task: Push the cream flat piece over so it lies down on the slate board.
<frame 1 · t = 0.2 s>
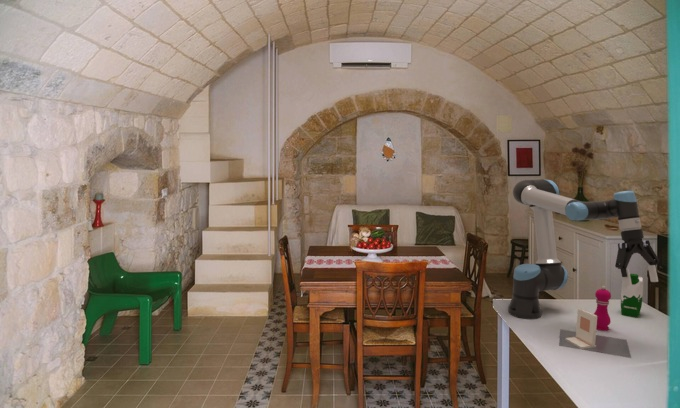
hand: (641, 283, 188), 27 cm above the table, tool tilted 15°, fingers open, 13 cm apart
milk carton: (630, 314, 233), on the table
cream flat piece: (586, 326, 195), point 8 cm above the table, hinge at 0.0°
pepper mill: (600, 330, 213), on the table
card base: (586, 342, 196), resting on slate board
slate board: (593, 344, 197), on the table
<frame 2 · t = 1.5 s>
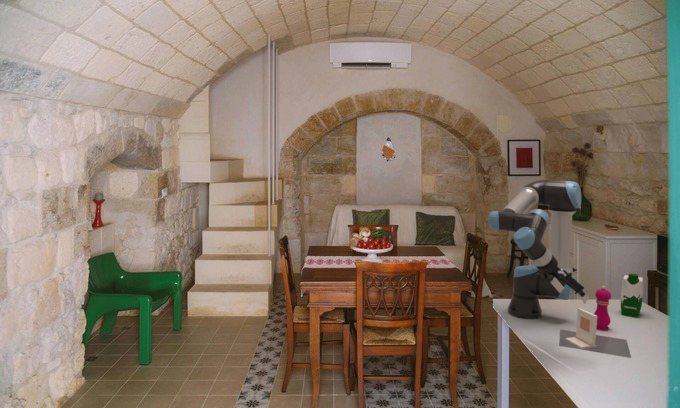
hand: (573, 295, 192), 22 cm above the table, tool tilted 45°, fingers open, 13 cm apart
nothing on the table moved.
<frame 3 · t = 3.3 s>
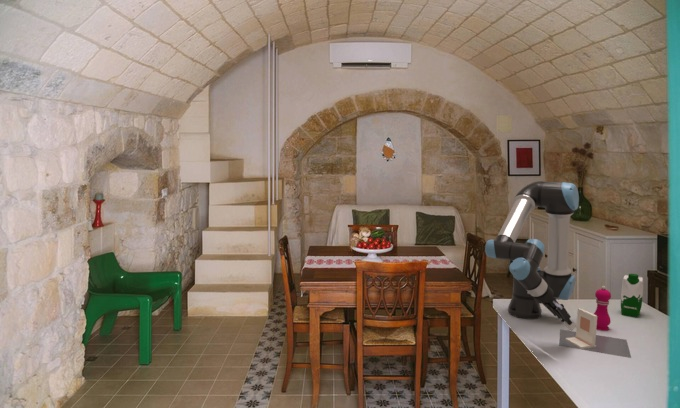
hand: (572, 327, 193), 8 cm above the table, tool tilted 45°, fingers closed
nothing on the table moved.
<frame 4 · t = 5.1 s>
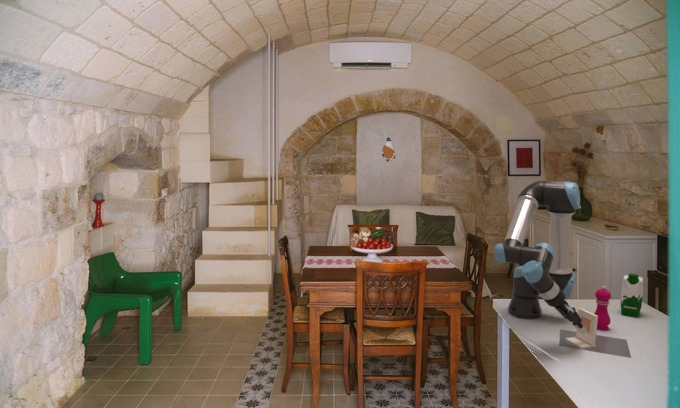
hand: (583, 331, 194), 7 cm above the table, tool tilted 45°, fingers closed
cream flat piece: (586, 326, 195), point 8 cm above the table, hinge at 1.7°, touching gripper
everything else where it was.
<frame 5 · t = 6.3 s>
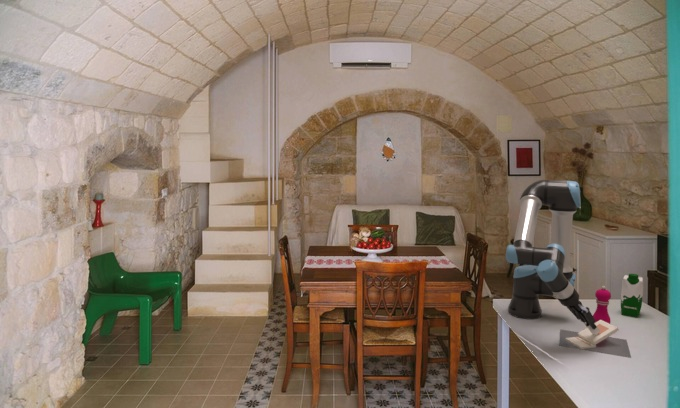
hand: (596, 332, 195), 6 cm above the table, tool tilted 40°, fingers closed
cream flat piece: (597, 331, 197), point 5 cm above the table, hinge at 65.6°, touching gripper
everything else where it was.
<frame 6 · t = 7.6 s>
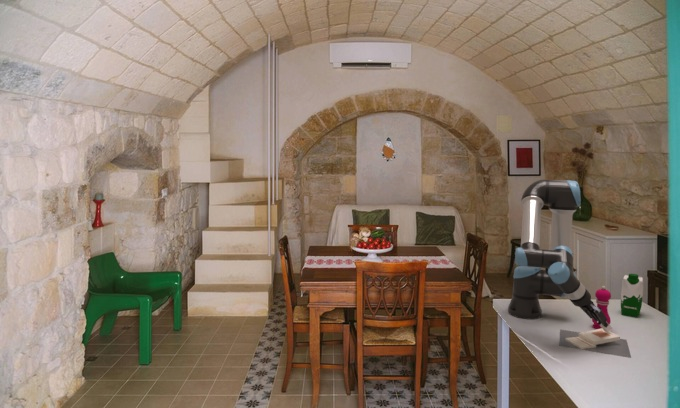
hand: (608, 329, 198), 6 cm above the table, tool tilted 45°, fingers closed
cream flat piece: (599, 336, 198), point 3 cm above the table, hinge at 85.1°
everything else where it was.
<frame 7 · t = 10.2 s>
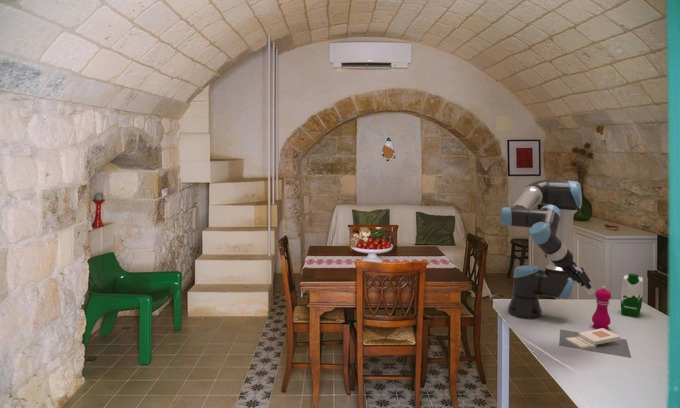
hand: (592, 292, 194), 22 cm above the table, tool tilted 45°, fingers closed
nothing on the table moved.
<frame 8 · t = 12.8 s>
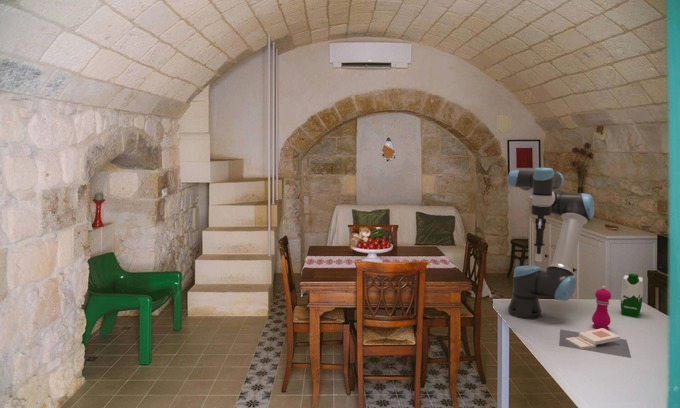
hand: (538, 260, 203), 32 cm above the table, tool pointing down, fingers closed
nothing on the table moved.
at the end: cream flat piece at +85° (first picture: +0°); the gripper is holding nothing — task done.
